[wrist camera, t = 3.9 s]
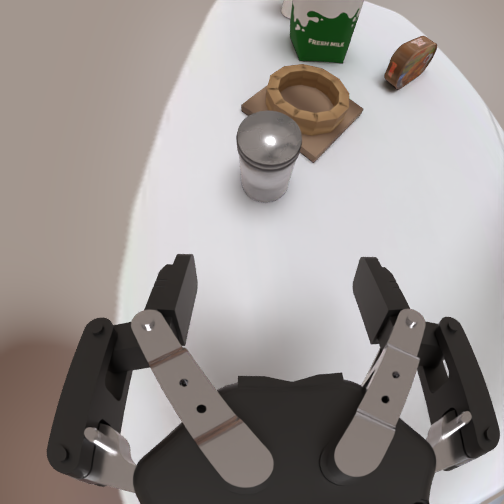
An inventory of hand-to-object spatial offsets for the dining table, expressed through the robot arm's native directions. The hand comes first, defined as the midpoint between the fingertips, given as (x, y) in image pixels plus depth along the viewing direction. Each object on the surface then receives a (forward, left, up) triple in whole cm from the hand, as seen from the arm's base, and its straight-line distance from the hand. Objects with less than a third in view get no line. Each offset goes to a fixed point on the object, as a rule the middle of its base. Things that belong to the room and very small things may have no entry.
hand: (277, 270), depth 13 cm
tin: (-40, -4, -14) cm, 43 cm away
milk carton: (-32, -17, -14) cm, 39 cm away
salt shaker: (-8, -7, -14) cm, 18 cm away
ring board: (-19, -10, -14) cm, 26 cm away
